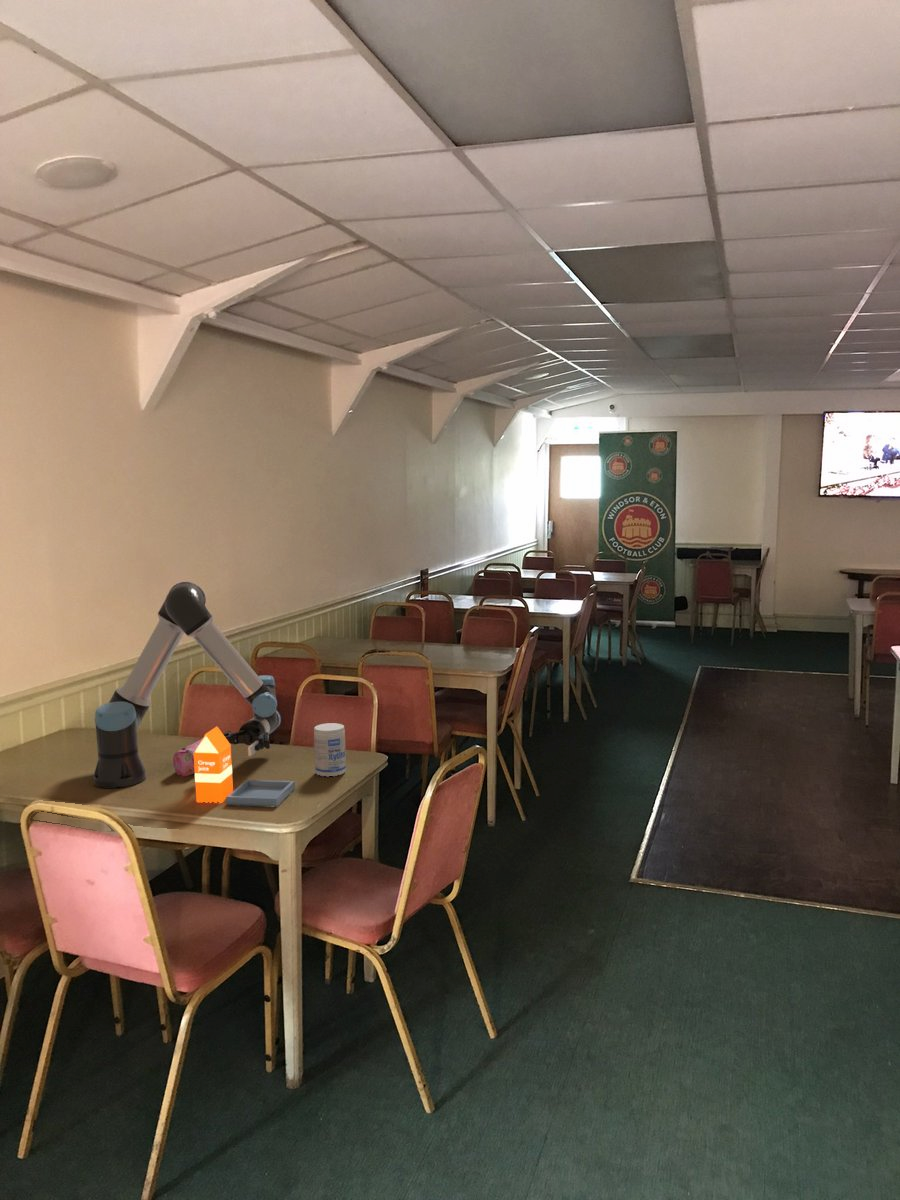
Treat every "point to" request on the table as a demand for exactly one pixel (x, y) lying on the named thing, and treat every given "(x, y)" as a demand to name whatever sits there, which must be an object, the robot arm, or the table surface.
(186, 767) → the pencil case
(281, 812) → the table surface
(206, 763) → the orange juice
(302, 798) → the table surface
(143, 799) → the table surface
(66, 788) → the table surface
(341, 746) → the supplement tub
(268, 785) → the dish
